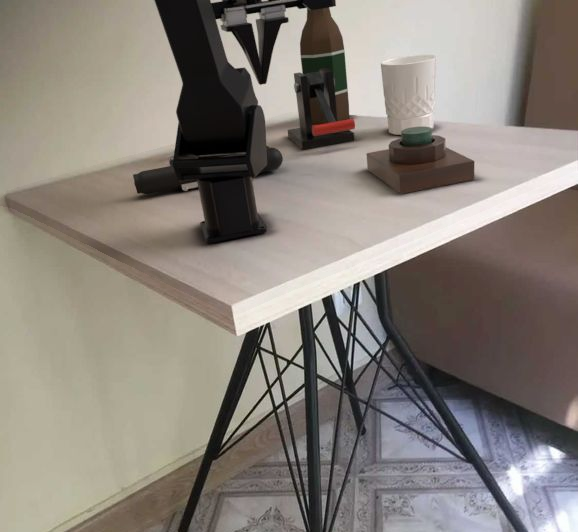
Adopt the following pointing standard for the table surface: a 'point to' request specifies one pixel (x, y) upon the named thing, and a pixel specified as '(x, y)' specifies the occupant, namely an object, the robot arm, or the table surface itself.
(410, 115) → the white cup
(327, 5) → the robot arm
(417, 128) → the button
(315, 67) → the beer bottle
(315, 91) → the lever
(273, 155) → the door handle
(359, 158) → the table surface
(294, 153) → the table surface
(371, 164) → the button block
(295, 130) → the bracket
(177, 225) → the table surface
